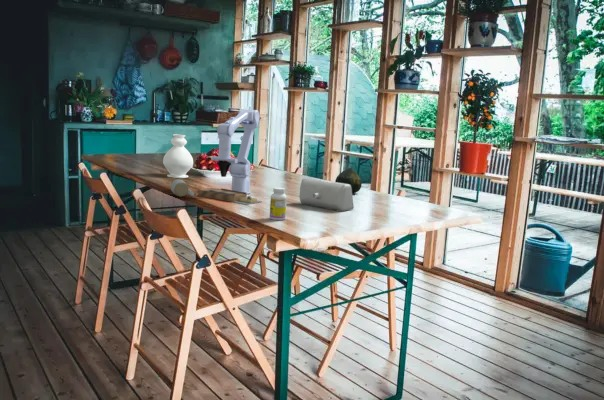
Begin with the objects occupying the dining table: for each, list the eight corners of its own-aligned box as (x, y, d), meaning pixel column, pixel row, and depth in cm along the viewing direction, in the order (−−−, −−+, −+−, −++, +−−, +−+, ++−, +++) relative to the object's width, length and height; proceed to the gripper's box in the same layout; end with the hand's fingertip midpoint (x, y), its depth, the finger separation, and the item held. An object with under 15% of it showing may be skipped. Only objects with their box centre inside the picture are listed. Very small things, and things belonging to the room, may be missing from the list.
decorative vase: (157, 174, 340) (158, 133, 336) (182, 174, 352) (184, 133, 348) (172, 179, 327) (173, 135, 323) (198, 177, 339) (199, 136, 335)
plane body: (198, 195, 276) (198, 188, 275) (211, 193, 284) (211, 186, 284) (233, 202, 265) (234, 194, 264) (246, 199, 273) (246, 192, 273)
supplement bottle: (269, 217, 235) (270, 186, 233) (284, 217, 236) (286, 187, 234) (269, 220, 229) (271, 189, 227) (285, 221, 230) (287, 189, 227)
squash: (338, 185, 307) (356, 165, 310) (326, 182, 320) (343, 163, 323) (354, 202, 312) (371, 182, 315) (342, 198, 326) (358, 179, 329)
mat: (248, 199, 274) (248, 199, 274) (261, 202, 270) (261, 201, 270) (233, 202, 264) (233, 201, 264) (246, 204, 260) (246, 204, 260)
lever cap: (238, 201, 267) (238, 195, 266) (244, 199, 271) (245, 194, 270) (250, 203, 263) (250, 197, 263) (256, 202, 267) (256, 196, 267)
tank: (291, 205, 268) (293, 179, 266) (310, 201, 281) (312, 177, 279) (335, 213, 254) (338, 186, 252) (353, 209, 266) (356, 183, 264)
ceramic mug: (173, 197, 267) (174, 181, 266) (170, 194, 274) (170, 178, 273) (195, 197, 272) (196, 181, 270) (191, 194, 279) (192, 179, 278)
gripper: (207, 147, 271) (206, 175, 274) (231, 150, 264) (230, 179, 267) (216, 147, 277) (215, 174, 280) (240, 149, 270) (239, 177, 273)
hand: (223, 176), depth 274 cm, fingers closed
